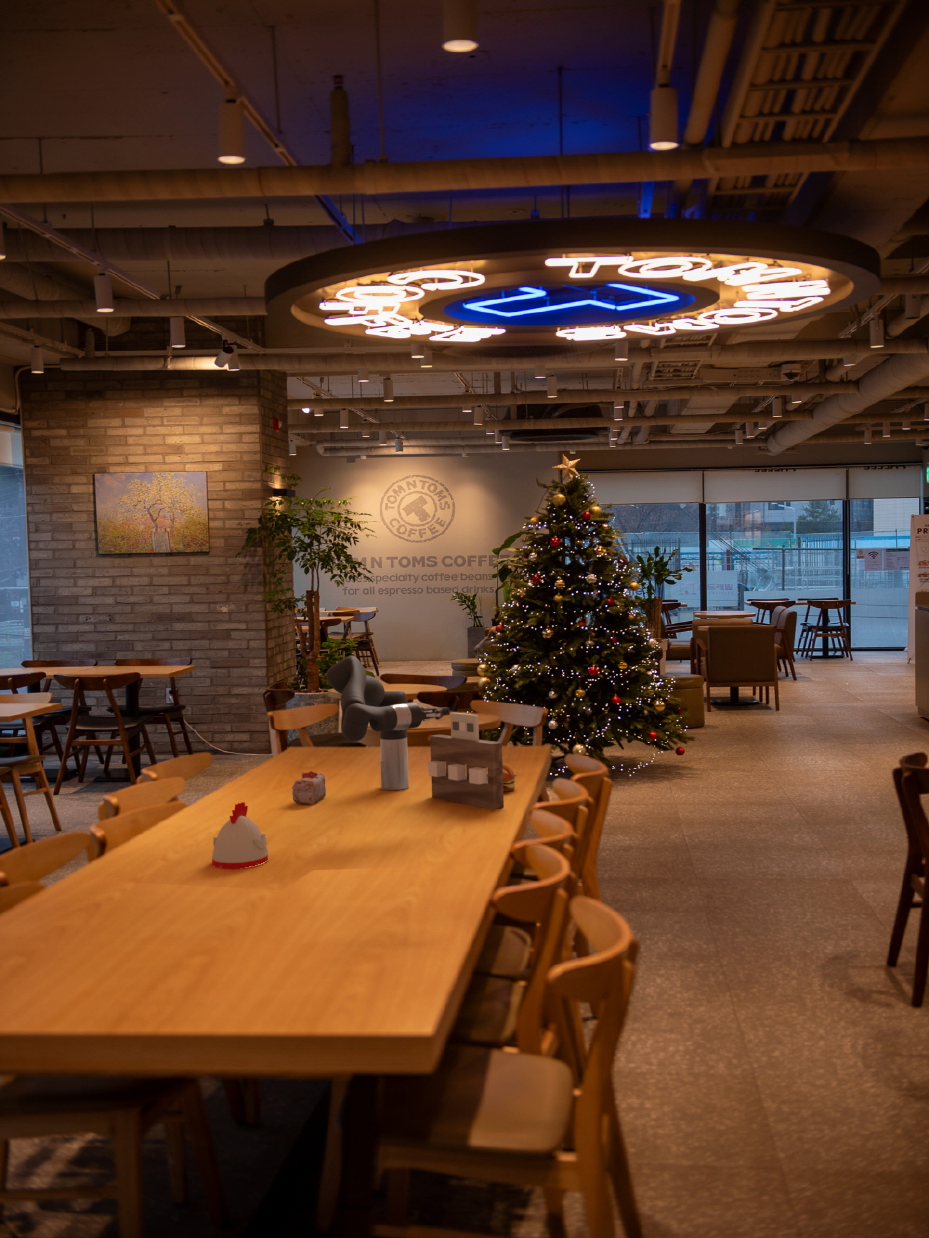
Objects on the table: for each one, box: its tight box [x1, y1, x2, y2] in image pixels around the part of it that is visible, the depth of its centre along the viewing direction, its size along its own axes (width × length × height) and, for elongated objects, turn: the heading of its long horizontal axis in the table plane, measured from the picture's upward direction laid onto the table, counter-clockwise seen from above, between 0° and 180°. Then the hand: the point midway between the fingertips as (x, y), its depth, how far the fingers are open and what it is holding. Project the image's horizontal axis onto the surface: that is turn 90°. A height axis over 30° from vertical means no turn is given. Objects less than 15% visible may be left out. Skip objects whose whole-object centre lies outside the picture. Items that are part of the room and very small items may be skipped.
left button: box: [427, 760, 446, 777], centre depth 345 cm, size 4×4×4 cm
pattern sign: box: [450, 712, 480, 741], centre depth 339 cm, size 2×12×8 cm, turn 41°
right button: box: [469, 767, 488, 784], centre depth 330 cm, size 4×4×4 cm
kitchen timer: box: [211, 801, 269, 870], centre depth 272 cm, size 14×14×15 cm
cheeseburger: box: [487, 762, 517, 793], centre depth 358 cm, size 10×11×10 cm
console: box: [429, 734, 505, 810], centre depth 340 cm, size 4×30×20 cm, turn 41°
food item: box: [291, 771, 327, 806], centre depth 348 cm, size 14×8×10 cm, turn 170°
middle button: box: [448, 764, 467, 781], centre depth 337 cm, size 4×4×4 cm
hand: (448, 711), depth 322 cm, fingers closed
